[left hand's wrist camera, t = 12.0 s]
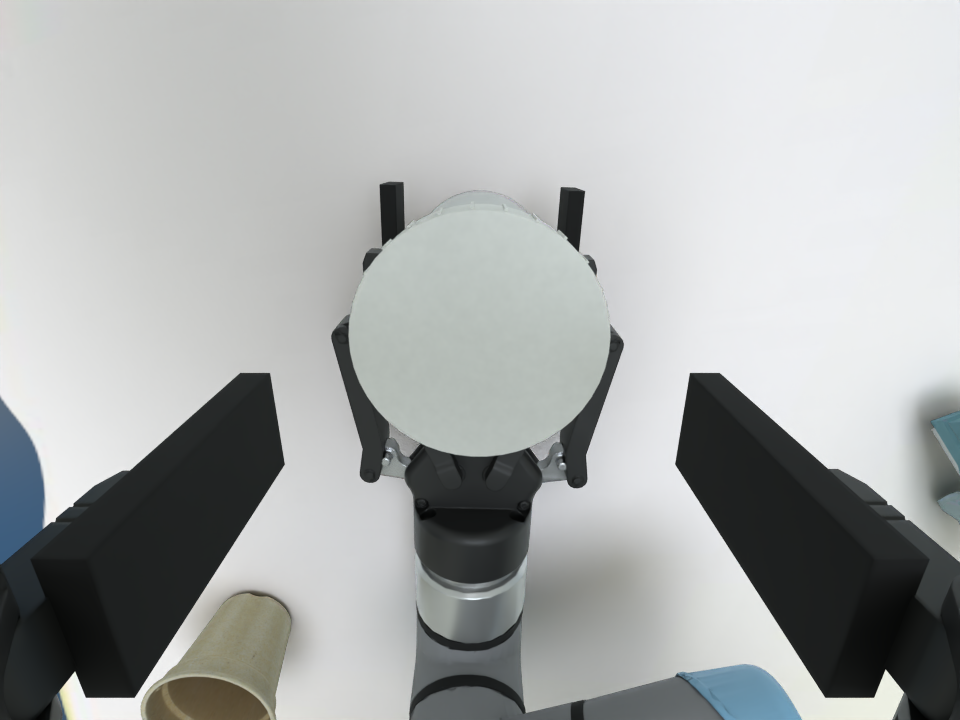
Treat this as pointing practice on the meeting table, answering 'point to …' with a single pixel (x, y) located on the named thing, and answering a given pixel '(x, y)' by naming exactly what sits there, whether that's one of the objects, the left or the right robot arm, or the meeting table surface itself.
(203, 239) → the meeting table surface
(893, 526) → the left robot arm
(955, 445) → the toy gun
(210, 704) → the flower pot
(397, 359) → the lid
